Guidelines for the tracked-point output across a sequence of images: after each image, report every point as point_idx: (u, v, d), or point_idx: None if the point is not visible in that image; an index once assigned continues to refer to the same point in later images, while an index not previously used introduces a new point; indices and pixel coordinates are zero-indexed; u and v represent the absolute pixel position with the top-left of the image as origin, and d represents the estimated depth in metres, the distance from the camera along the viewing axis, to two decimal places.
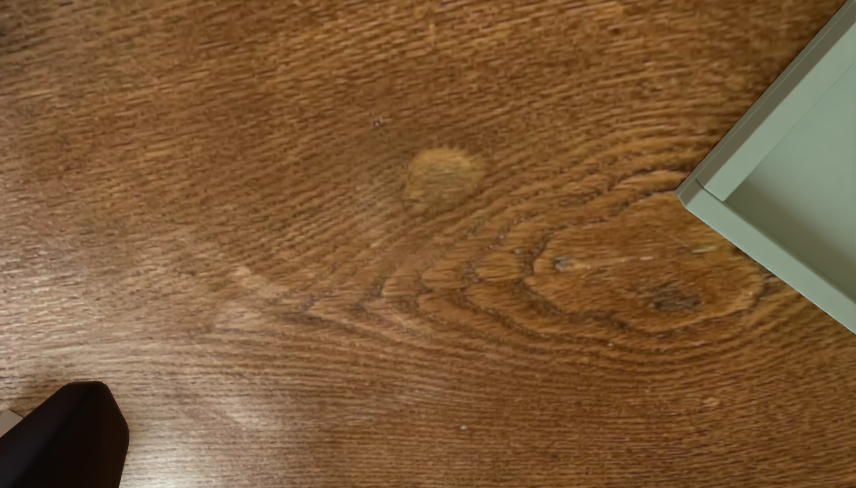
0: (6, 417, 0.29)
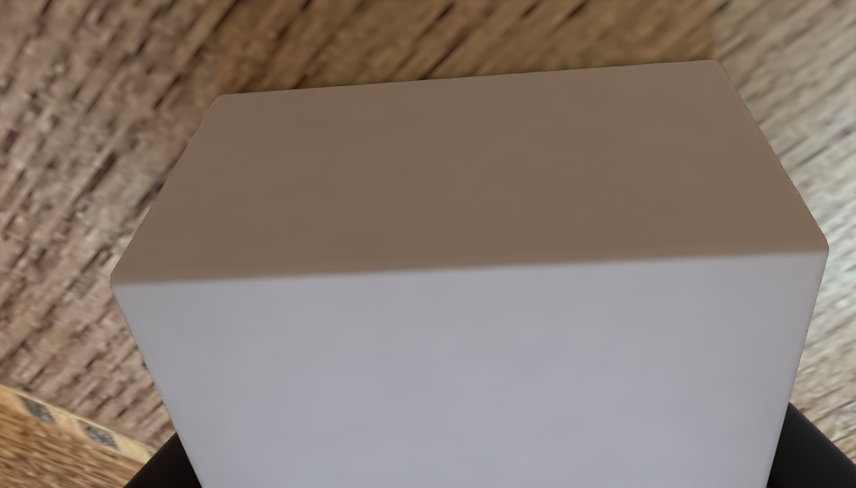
0: (225, 108, 0.07)
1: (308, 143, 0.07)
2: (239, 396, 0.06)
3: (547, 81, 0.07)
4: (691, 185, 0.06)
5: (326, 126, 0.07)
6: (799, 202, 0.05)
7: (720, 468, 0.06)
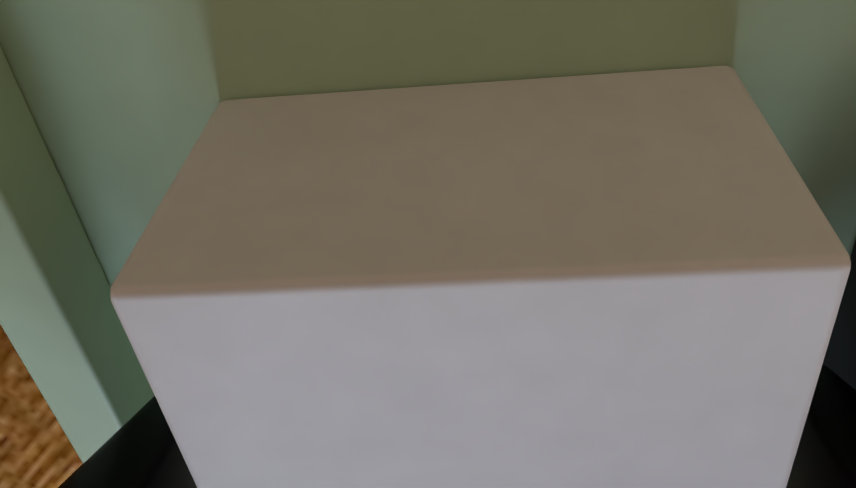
0: (228, 115, 0.07)
1: (312, 152, 0.07)
2: (242, 411, 0.06)
3: (557, 87, 0.07)
4: (707, 196, 0.06)
5: (331, 133, 0.07)
6: (819, 214, 0.05)
7: (735, 485, 0.06)
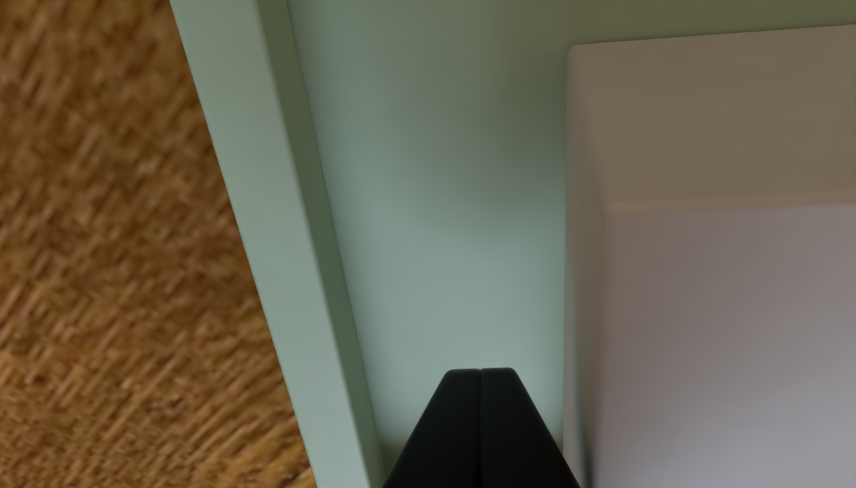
0: (593, 57, 0.07)
1: (714, 86, 0.07)
2: (686, 333, 0.06)
3: None
4: None
5: (720, 71, 0.07)
6: None
7: None
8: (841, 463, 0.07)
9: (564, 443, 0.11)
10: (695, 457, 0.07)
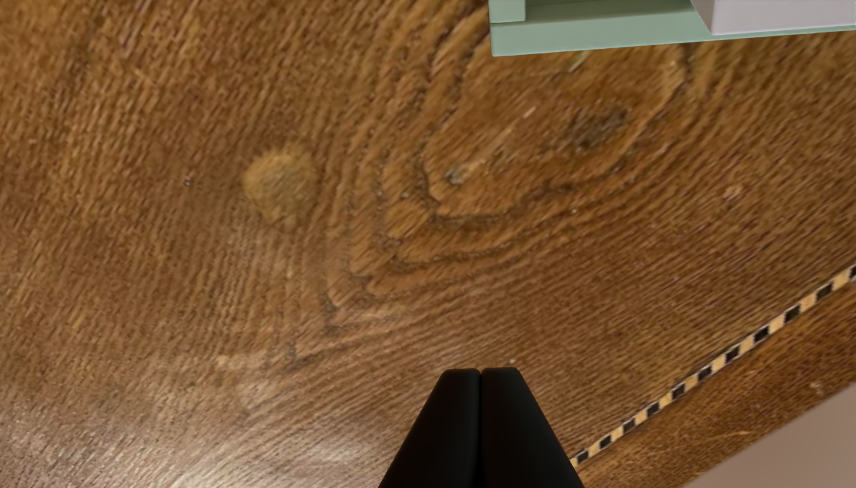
0: None
1: None
2: None
3: None
4: None
5: None
6: None
7: None
8: None
9: None
10: None
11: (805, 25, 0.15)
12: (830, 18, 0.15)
